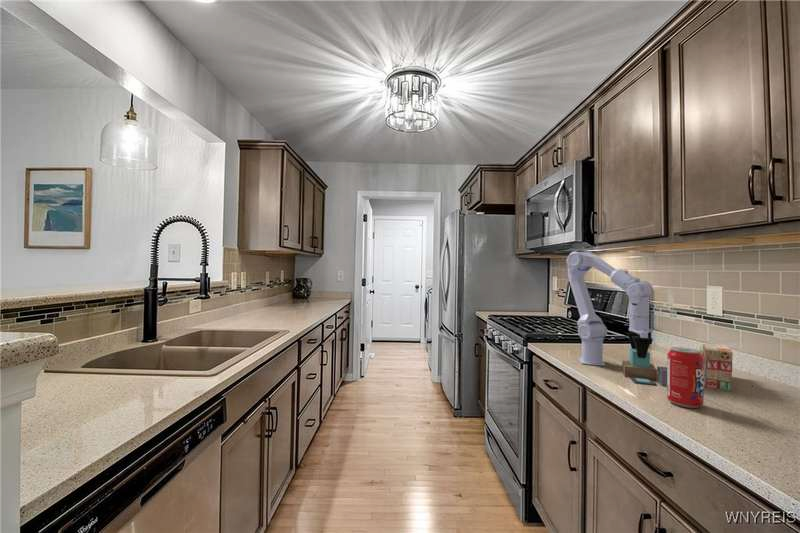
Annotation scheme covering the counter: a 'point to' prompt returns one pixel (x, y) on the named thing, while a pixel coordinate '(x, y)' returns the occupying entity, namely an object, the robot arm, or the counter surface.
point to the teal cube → (639, 359)
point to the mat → (643, 381)
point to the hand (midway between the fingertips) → (638, 355)
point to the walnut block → (639, 371)
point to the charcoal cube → (662, 376)
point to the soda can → (685, 377)
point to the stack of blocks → (717, 366)
